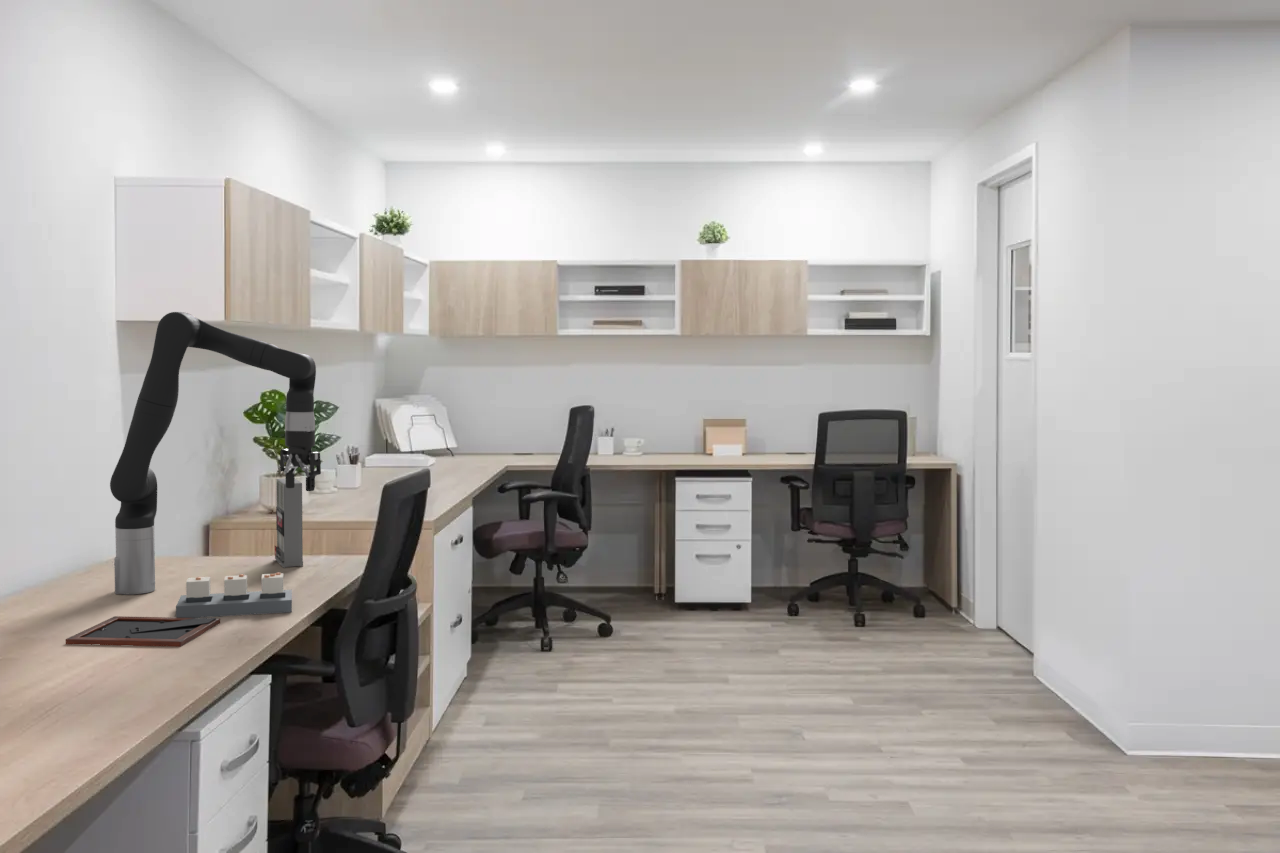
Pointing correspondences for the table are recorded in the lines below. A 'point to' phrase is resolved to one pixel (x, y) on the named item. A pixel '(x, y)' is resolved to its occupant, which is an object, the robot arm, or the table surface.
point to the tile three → (272, 583)
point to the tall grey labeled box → (289, 524)
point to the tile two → (235, 585)
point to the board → (234, 604)
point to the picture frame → (144, 631)
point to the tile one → (198, 587)
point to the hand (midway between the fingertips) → (300, 489)
